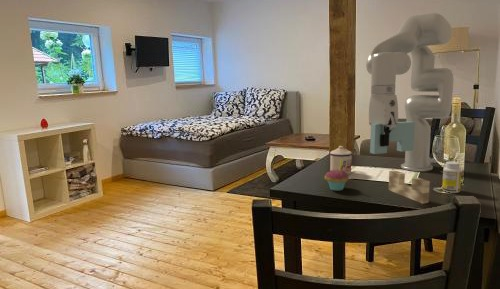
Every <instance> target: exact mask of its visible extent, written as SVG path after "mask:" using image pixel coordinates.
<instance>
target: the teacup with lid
mask: <svg viewBox="0 0 500 289" xmlns="http://www.w3.org/2000/svg"><path fill="white" fill-rule="evenodd" d="M329 155H330V162H329V163H330V165H329V166H330V168H329V171H331V170H336V169H339V167H340V161H341V159H343V161H342V166H341V170H342V171H344V172H346V173H347V174H348V176H349V175H351V174H352V160H353V156H352V155H353V153H352V151H350V150H348V149H347V148H344V146H343V145H338V148H336V149H335V148H334V150H331V151H330V153H329ZM342 157H343V158H342Z"/></svg>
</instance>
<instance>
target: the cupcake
mask: <svg viewBox="0 0 500 289" xmlns="http://www.w3.org/2000/svg"><path fill="white" fill-rule="evenodd" d="M342 158H343V157H342ZM342 161H343V159H341V161H340V167H339V169H336V170H331V171H330V170H329V171H327V172H326V173H325V174H324V180H325V181H327V183H328V186H329V189H330V190H332V191H343V190H344V188H345V185H346V182H348V181H349V175H348V174H347V173H346V172H344V171H342V170H341V166H342Z"/></svg>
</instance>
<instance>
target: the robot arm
mask: <svg viewBox="0 0 500 289" xmlns="http://www.w3.org/2000/svg"><path fill="white" fill-rule="evenodd" d="M452 35H453V29H452V26H451V24H450V23H449V21H448V20H447V19H446V18H445V17H444V16H443V15H442V14H440V13H436V12H435V13H434V12H433V13H425V14H418V15H417V14H416V15H412V16H409V17H407V18H405V20H404V21H403V22H402V24H401V26H400V27H399V29H398V30H397V32H396V34H395V35H393V36H391V37H389V38H387V39H385V40H383V41H381V42H380V43H378V44H377V45H376V46H374V47H373V49H372V50H371V52H370V54H369V55H368V57H367V61H366V66H365V67H366V70H367V72H368V74H370V75H371V84H370V87H371V88H370V89H371V90H370V100H369V105H368V124H369V126H371V124H380V125H382V134H381V135H380V146H387V147H388V146H389V145H390V141H389V134H391V131H392V130H393V129H395V128H396V124H397V123H398V122H399V104H398V97H397V95H396V82H397V81H396V78H397V77H396V76H399V75H400V76H401V75H404V74H406V73H408V71H409V70H410V69H411V74H410V87H411V90H412V91H415V92H419V93H420V92H421V93H422V92H423V93H430V92H431V93H436V92H437V93H439V94H435V95H434V94H433V95H432V94H415V95H411V96H409V97H408V98H407V99H406V100H405V104H404V110H405V111H404V112H405V116H406V118H405V119H406V120H405V122H407V121H411V122H415V130H414V147H413V151H404V153H405V156H404V162H403V163H401V164H400V168H402V169H403V170H406V171H411V172H430V171H432V170H433V168H434V167H433V165H432V164H434V163H437V162H436V161H435V160H434V158H435V157H432V158H431V157H430V151H431V150H430V149H431V132H432V130H431V126H430V124H429V122H428V121H427V120H426V119H439V120H440V119H447V118H448V117H450V115H451V111H452V106H453V105H452V103H453V92H454V73H453V71H452V70H451V69H450V68H446V67H444V68H443V67H441V68H440V67H439V68H438V67H437V68H436V67H435V63H436V62H435V60H436V56H435V54H434V52H433V50H431V48H429V47H428V46H441V45H446V44H448V43H449V42H450V41H451V38H452ZM409 53H410V54H411V57H410V55H409ZM411 59H412V60H411ZM451 105H452V106H451ZM385 127H386V129H385Z"/></svg>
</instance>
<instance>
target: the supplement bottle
mask: <svg viewBox="0 0 500 289" xmlns="http://www.w3.org/2000/svg"><path fill="white" fill-rule="evenodd" d="M442 170H443V172H442V184H441V185H442V186H441V189H442V191H443V192H445V191H446V192H445V193H448V192H450V193H449V194H458V193H460V192H461V185H462V183H461V182H462V168H460V162H458V161H449V160H448V161H446V162H445V167H443V169H442Z"/></svg>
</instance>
